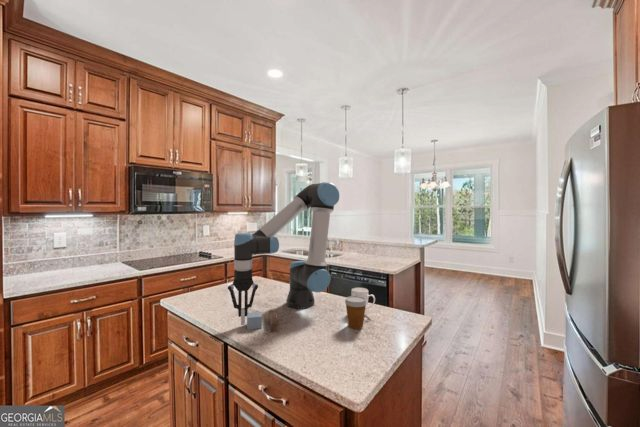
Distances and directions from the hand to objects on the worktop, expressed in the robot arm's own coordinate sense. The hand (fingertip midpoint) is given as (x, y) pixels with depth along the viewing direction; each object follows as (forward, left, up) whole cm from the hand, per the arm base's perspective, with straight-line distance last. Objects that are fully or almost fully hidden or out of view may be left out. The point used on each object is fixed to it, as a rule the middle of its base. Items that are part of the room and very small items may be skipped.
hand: (242, 323), depth 124 cm
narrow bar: (-13, 0, -1) cm, 13 cm away
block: (-5, 0, -1) cm, 5 cm away
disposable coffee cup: (-48, +9, -2) cm, 49 cm away
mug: (-57, -5, -2) cm, 57 cm away
